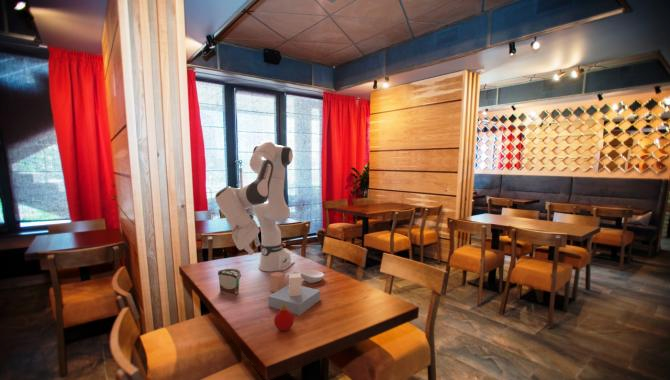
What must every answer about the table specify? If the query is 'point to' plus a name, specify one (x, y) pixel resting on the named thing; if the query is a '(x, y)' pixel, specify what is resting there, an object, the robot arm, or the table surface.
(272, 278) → the terracotta column
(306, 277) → the spoon rest
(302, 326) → the table surface
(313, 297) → the slate plinth block
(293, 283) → the off-white column
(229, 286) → the food container
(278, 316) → the christmas ornament
